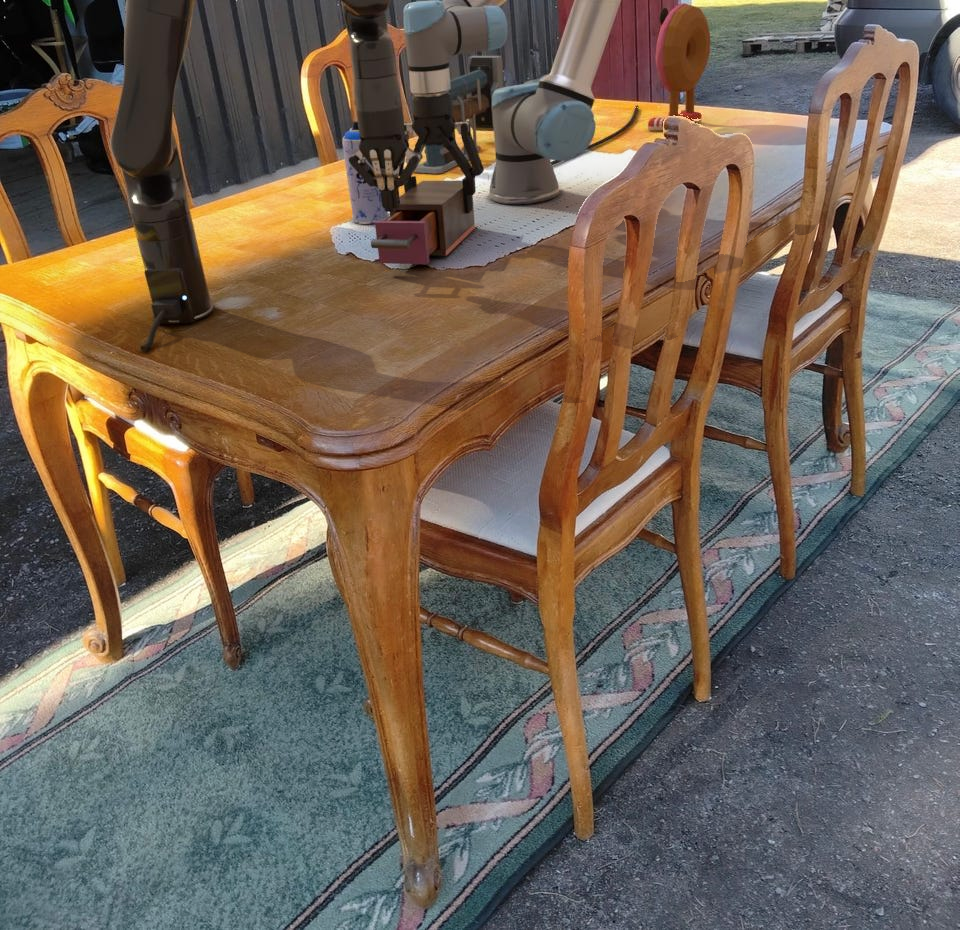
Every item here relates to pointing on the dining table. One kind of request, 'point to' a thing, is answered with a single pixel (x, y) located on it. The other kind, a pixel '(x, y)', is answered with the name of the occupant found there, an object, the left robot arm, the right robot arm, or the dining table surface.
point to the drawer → (407, 237)
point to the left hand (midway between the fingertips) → (391, 210)
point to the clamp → (468, 108)
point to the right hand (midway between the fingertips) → (441, 211)
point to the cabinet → (442, 210)
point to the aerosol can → (361, 185)
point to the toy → (681, 57)
